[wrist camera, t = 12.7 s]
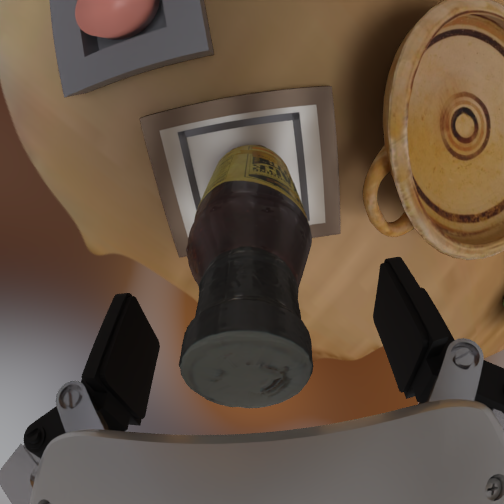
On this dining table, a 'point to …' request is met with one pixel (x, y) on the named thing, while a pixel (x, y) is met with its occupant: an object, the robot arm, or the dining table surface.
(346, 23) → the dining table surface
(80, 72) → the button housing
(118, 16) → the button
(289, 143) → the pad
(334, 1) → the dining table surface
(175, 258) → the dining table surface
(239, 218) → the sauce bottle
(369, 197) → the ceramic bowl
